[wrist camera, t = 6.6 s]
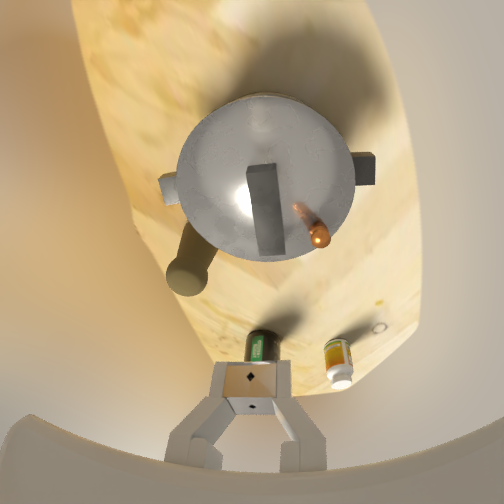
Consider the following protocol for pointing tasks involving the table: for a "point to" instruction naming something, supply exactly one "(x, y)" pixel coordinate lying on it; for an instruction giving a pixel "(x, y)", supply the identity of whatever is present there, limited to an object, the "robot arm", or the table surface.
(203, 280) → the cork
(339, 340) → the supplement bottle
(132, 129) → the table surface
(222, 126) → the cooker lid
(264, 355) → the supplement bottle
